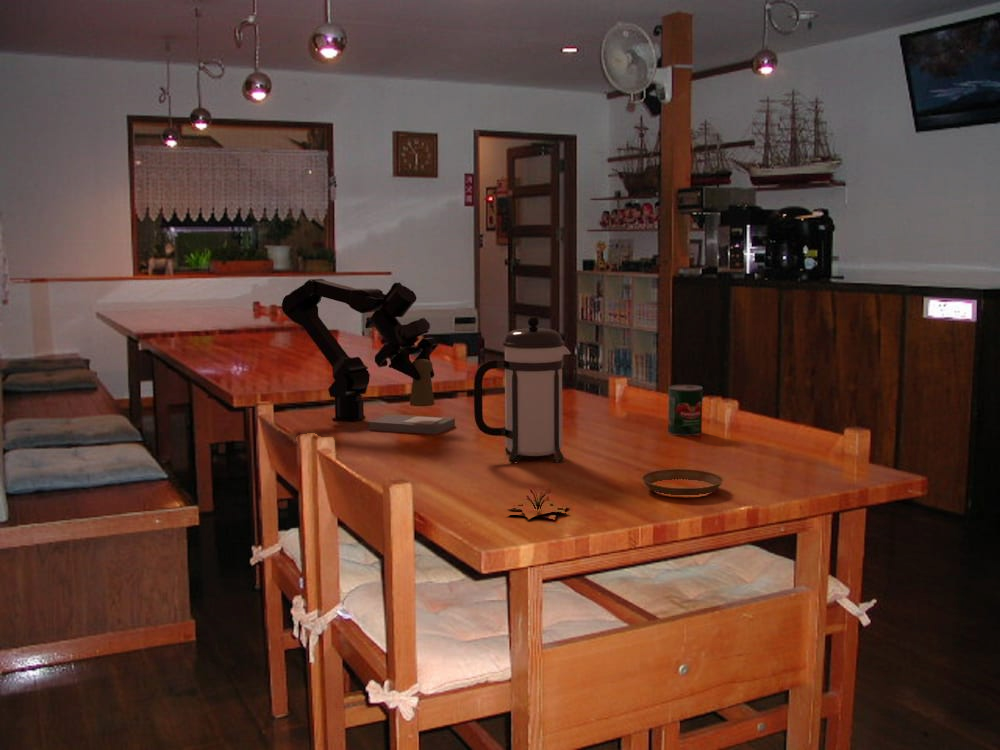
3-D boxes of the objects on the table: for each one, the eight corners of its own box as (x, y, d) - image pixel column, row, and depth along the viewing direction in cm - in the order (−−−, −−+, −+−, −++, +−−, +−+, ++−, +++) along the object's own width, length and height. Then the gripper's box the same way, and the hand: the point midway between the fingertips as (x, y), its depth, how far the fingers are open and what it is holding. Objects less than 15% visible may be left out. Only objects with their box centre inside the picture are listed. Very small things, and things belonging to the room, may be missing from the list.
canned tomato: (687, 437, 233) (688, 390, 231) (661, 432, 239) (661, 387, 237) (708, 433, 238) (709, 387, 236) (682, 428, 244) (682, 383, 242)
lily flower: (493, 521, 169) (492, 495, 168) (518, 503, 180) (517, 478, 179) (561, 528, 165) (561, 501, 164) (582, 509, 176) (582, 483, 175)
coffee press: (529, 446, 225) (528, 312, 221) (583, 457, 214) (583, 316, 210) (472, 458, 213) (470, 317, 209) (526, 471, 202) (526, 321, 198)
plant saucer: (669, 506, 176) (670, 491, 176) (626, 487, 190) (627, 473, 189) (739, 496, 182) (739, 482, 182) (692, 478, 196) (693, 465, 195)
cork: (437, 405, 244) (437, 360, 242) (413, 407, 242) (412, 361, 240) (430, 401, 249) (430, 357, 248) (407, 402, 247) (406, 358, 246)
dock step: (369, 429, 246) (368, 421, 245) (390, 421, 256) (390, 413, 255) (436, 434, 239) (436, 425, 239) (455, 426, 249) (454, 417, 249)
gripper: (382, 310, 237) (420, 360, 232) (432, 305, 252) (468, 352, 247) (358, 341, 242) (394, 391, 238) (408, 334, 257) (443, 381, 253)
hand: (426, 378), depth 244 cm, fingers closed on cork, 5 cm apart
